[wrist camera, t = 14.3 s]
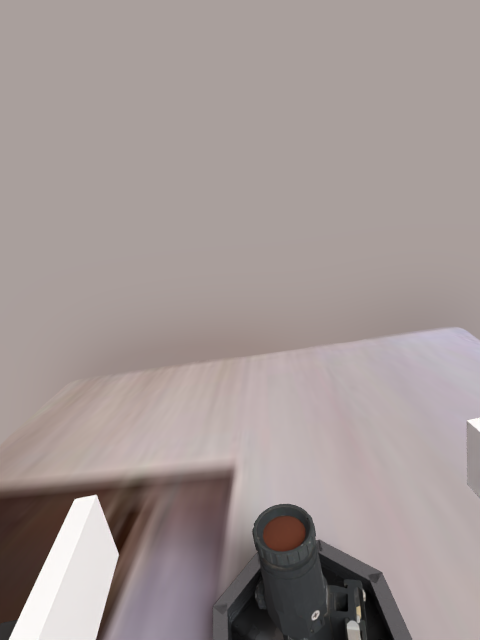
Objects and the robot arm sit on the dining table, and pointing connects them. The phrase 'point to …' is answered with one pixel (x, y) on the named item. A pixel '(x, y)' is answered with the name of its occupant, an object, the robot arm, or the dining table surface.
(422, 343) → the dining table surface
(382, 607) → the dark grey octagonal bowl
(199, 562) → the dining table surface
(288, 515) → the scope
